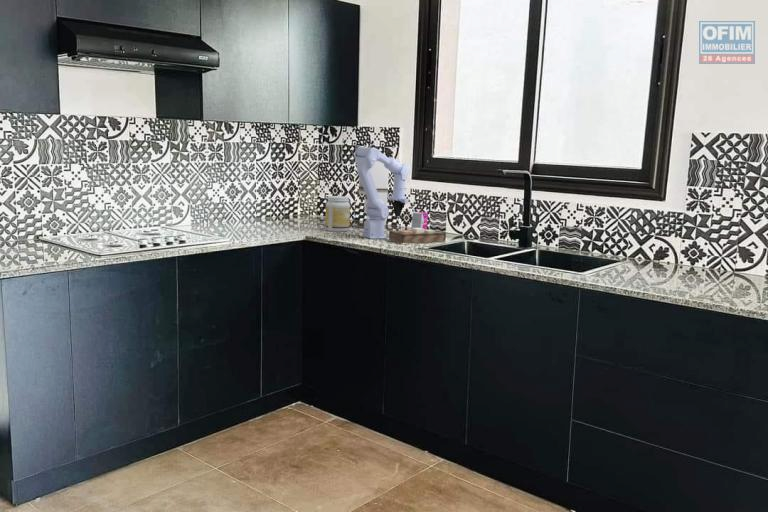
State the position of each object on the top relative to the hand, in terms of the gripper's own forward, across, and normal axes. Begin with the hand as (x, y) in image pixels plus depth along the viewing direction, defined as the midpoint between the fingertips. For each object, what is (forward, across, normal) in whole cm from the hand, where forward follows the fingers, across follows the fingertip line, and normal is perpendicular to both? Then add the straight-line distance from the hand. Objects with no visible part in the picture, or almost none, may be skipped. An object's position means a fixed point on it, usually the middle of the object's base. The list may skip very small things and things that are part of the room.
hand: (397, 216), depth 338 cm
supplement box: (+10, -2, -12) cm, 15 cm away
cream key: (+7, -18, 0) cm, 19 cm away
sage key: (+8, -18, -7) cm, 21 cm away
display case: (+10, +26, -1) cm, 28 cm away
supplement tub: (+10, +21, +22) cm, 32 cm away
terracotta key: (+8, -18, +7) cm, 21 cm away
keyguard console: (+9, -18, 0) cm, 20 cm away
